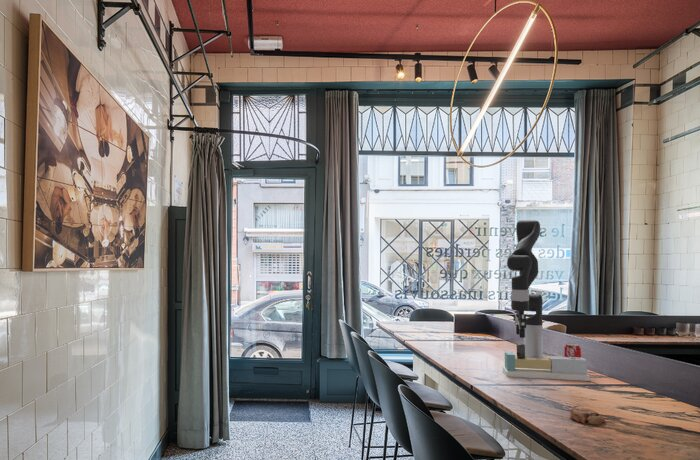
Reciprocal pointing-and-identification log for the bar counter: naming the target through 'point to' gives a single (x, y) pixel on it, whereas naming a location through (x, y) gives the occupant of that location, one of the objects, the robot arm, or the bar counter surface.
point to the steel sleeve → (568, 365)
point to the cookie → (586, 416)
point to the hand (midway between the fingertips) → (520, 335)
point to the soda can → (572, 350)
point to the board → (544, 374)
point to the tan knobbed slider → (530, 360)
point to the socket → (509, 361)
